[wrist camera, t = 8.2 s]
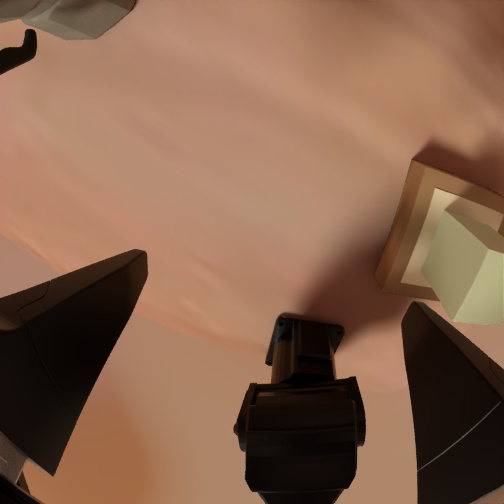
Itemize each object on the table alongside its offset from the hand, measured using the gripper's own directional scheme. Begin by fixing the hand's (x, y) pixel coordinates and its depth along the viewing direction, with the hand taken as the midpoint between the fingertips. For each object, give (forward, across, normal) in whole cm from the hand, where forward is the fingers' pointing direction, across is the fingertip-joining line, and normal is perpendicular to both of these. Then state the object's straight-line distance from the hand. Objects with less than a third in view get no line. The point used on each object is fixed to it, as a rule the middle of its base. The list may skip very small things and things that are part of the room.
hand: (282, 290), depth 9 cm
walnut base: (+13, -14, +1) cm, 19 cm away
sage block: (+10, -14, +1) cm, 17 cm away
